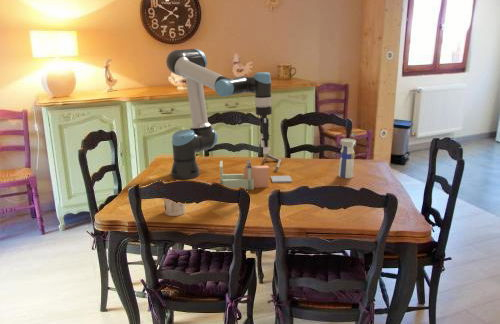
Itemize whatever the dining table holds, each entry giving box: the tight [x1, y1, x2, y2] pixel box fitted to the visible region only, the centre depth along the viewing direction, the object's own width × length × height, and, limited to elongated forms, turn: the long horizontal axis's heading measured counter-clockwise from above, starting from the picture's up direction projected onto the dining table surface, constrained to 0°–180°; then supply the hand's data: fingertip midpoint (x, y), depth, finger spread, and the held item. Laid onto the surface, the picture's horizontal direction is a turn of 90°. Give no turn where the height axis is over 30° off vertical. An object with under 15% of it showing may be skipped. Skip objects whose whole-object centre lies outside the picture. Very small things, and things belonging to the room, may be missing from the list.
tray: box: [270, 175, 293, 184], centre depth 212 cm, size 10×8×1 cm
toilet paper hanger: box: [262, 147, 282, 172], centre depth 236 cm, size 23×9×8 cm, turn 169°
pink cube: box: [243, 165, 270, 188], centre depth 202 cm, size 12×4×10 cm, turn 93°
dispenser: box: [219, 159, 255, 191], centre depth 201 cm, size 16×9×12 cm, turn 93°
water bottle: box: [337, 131, 357, 179], centre depth 214 cm, size 8×9×25 cm
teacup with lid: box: [163, 198, 187, 217], centre depth 171 cm, size 12×9×12 cm
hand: (264, 150), depth 199 cm, fingers open, 13 cm apart
